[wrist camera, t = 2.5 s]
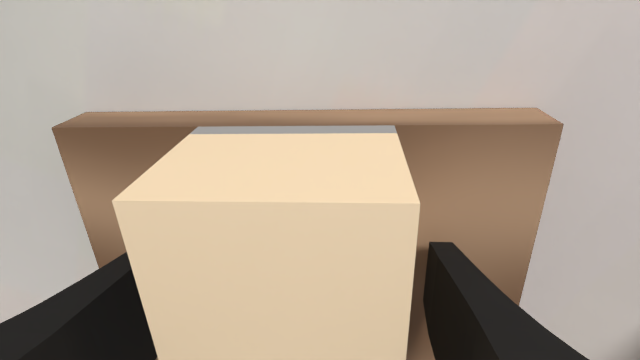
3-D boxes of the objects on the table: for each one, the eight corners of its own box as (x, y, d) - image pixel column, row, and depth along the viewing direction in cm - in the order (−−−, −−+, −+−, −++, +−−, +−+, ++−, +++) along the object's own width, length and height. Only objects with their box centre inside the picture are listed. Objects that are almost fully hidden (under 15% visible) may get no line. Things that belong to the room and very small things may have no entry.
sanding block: (394, 125, 10) (420, 203, 6) (381, 354, 13) (393, 492, 9) (198, 126, 10) (111, 201, 6) (235, 349, 13) (193, 478, 10)
